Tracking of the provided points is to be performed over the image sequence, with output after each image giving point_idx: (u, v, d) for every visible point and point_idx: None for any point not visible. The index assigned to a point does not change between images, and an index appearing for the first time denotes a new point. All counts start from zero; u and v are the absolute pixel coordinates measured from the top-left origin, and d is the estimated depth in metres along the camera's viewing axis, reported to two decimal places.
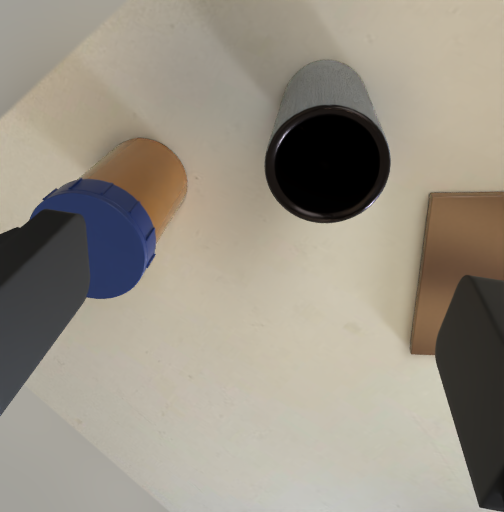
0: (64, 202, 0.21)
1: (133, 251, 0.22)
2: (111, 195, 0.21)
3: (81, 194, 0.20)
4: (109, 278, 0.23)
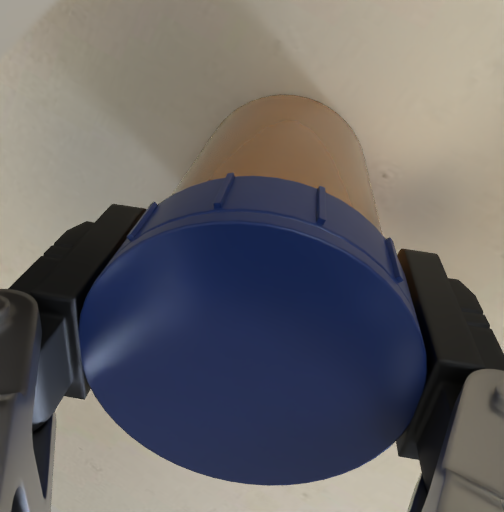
0: (204, 250, 0.07)
1: (390, 388, 0.07)
2: (338, 225, 0.07)
3: (268, 227, 0.06)
4: (296, 446, 0.08)
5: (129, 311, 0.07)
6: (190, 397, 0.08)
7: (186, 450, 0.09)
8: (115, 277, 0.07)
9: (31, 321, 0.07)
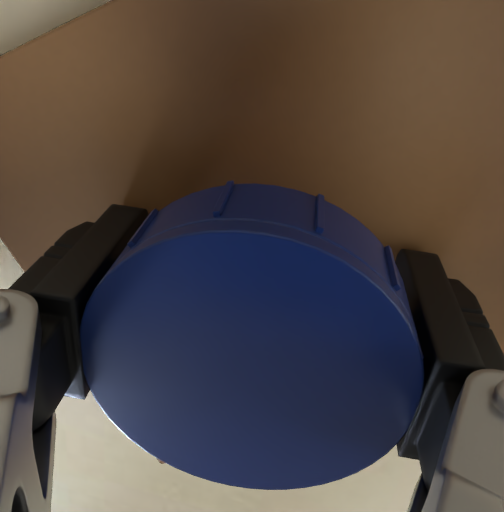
0: (102, 338, 0.08)
1: (320, 286, 0.07)
2: (158, 227, 0.07)
3: (97, 289, 0.07)
4: (354, 394, 0.07)
5: (138, 411, 0.08)
6: (245, 429, 0.08)
7: (308, 468, 0.09)
8: (105, 400, 0.08)
9: (31, 321, 0.07)
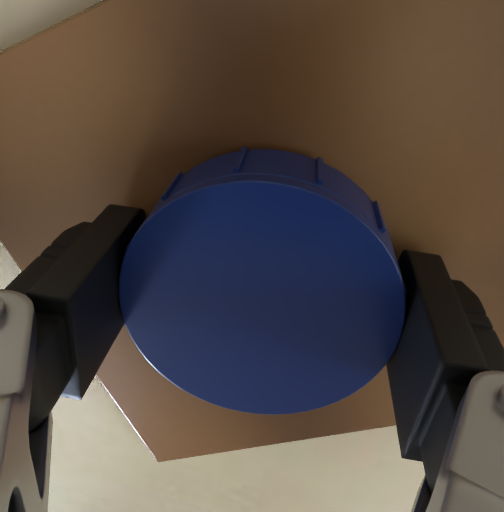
0: (139, 278, 0.09)
1: (320, 227, 0.08)
2: (185, 185, 0.09)
3: (137, 234, 0.09)
4: (349, 322, 0.09)
5: (166, 345, 0.10)
6: (258, 358, 0.10)
7: (310, 392, 0.10)
8: (138, 336, 0.10)
9: (26, 321, 0.06)
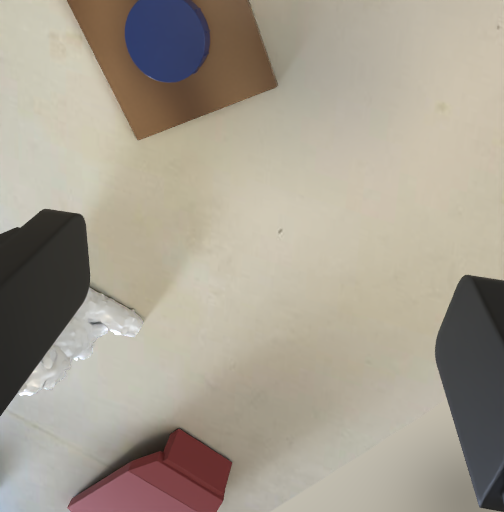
0: (130, 28, 0.32)
1: (177, 6, 0.31)
2: None
3: (129, 12, 0.32)
4: (189, 39, 0.32)
5: (139, 54, 0.33)
6: (166, 56, 0.33)
7: (183, 70, 0.33)
8: (130, 51, 0.33)
9: None
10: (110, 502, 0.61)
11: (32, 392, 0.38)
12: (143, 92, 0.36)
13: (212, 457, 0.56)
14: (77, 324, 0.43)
